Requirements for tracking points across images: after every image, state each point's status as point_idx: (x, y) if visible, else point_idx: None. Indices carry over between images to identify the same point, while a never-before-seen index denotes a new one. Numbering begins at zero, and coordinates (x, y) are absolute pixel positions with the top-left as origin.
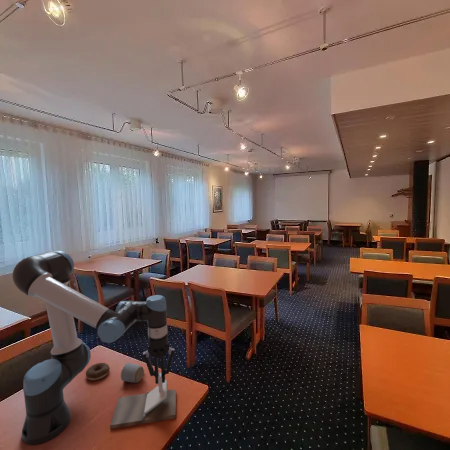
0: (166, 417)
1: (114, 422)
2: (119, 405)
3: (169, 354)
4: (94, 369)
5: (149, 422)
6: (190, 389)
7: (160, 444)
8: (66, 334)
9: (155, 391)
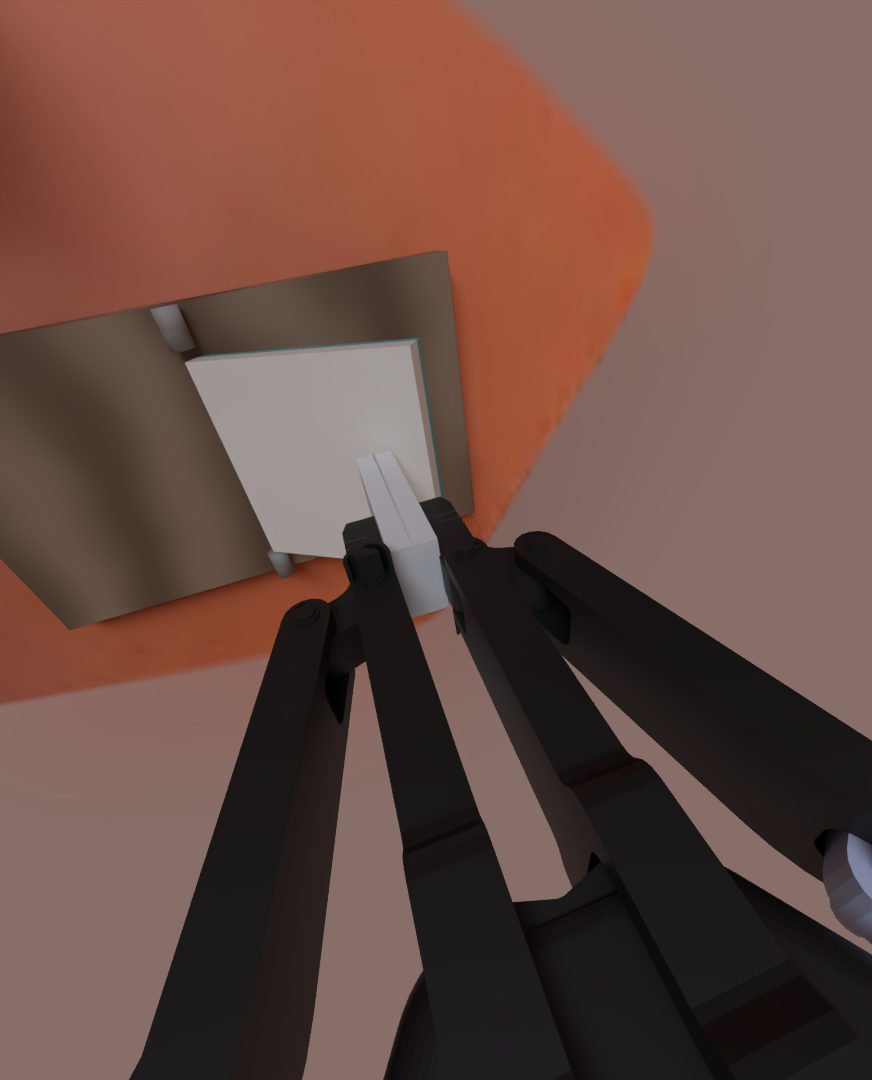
0: None
1: (83, 610)
2: None
3: (798, 815)
4: None
5: None
6: (558, 215)
7: (417, 626)
8: None
9: (299, 420)
